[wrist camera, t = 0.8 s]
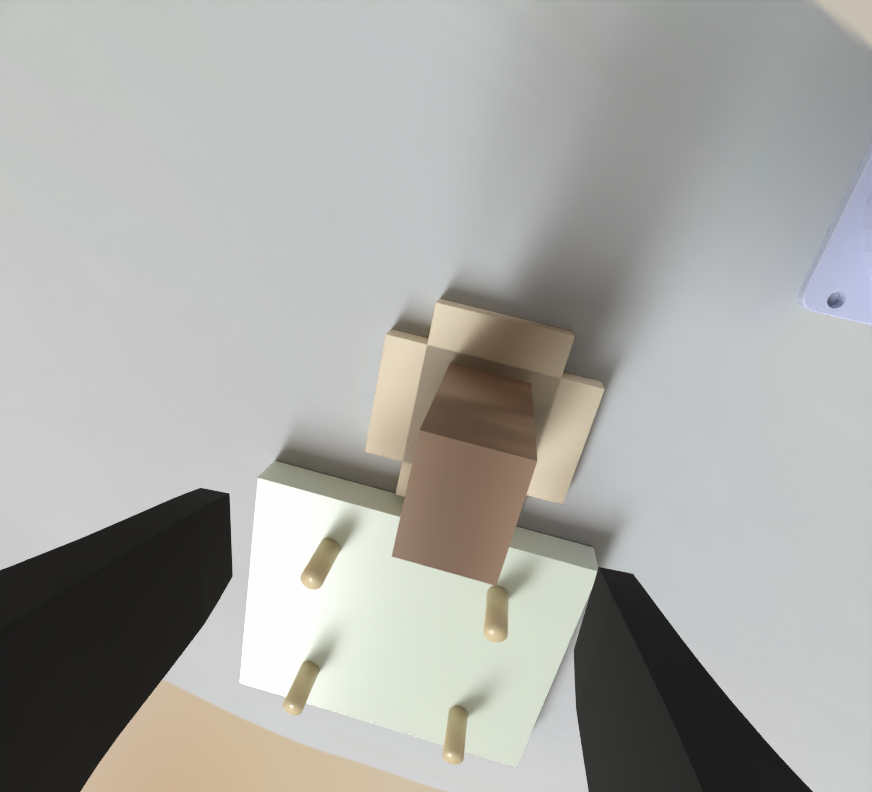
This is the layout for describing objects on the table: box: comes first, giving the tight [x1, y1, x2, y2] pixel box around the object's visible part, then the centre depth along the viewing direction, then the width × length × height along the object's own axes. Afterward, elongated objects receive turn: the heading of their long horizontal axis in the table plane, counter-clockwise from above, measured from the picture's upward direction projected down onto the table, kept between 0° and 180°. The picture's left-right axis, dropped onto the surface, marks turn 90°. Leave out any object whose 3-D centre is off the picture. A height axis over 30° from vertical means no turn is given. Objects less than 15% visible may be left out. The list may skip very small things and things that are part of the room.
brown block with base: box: [365, 299, 605, 586], centre depth 16 cm, size 8×8×7 cm
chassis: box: [240, 461, 598, 767], centre depth 22 cm, size 14×12×4 cm
